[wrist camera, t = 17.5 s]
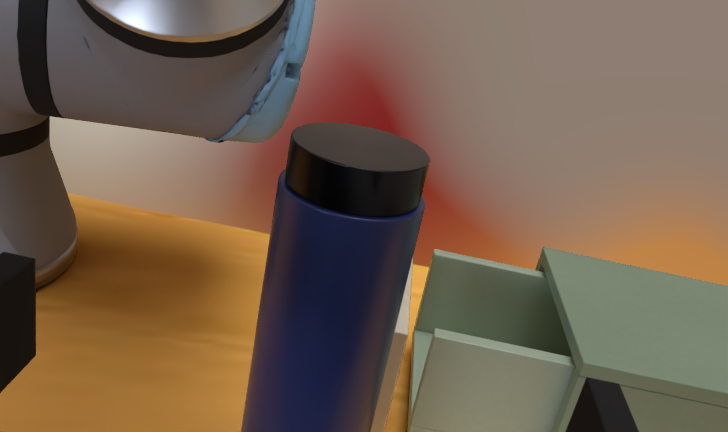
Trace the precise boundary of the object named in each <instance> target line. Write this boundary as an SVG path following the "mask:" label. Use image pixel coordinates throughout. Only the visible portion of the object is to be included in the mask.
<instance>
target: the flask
mask: <svg viewBox="0 0 728 432" xmlns="http://www.w3.org/2000/svg"><path fill="white" fill-rule="evenodd" d="M429 163H430V158H429V156H428V154H427V153H426V152H425V151H424V150H423V149H422V148H421V147H419V146H418V145H416V144H414V143H412V142H411V141H409V140H407V139H404V138H402V137H400V136H397V135H394V134H391V133H388V132H385V131H381V130H377V129H374V128H369V127H364V126H359V125H353V124H344V123H329V122H328V123H312V124H306V125H302V126H299V127H297V128H296V129H294V130H293V132H292V134H291V139H290V146H289V152H288V159H287V165H286V169H285V170H283V172H282V173H281V174H280V176H279V179H278V186H277V193H276V200H275V207H274V213H273V220H272V226H271V233H270V240H269V247H268V253H267V260H266V267H265V274H264V280H263V287H262V294H261V301H260V307H259V314H258V321H257V328H256V334H255V341H254V348H253V355H252V361H251V368H250V375H249V382H248V388H247V395H246V402H245V409H244V415H243V422H242V429H241V432H370V431H371V427H372V423H373V419H374V415H375V410H376V406H377V402H378V398H379V394H380V390H381V386H382V382H383V377H384V373H385V369H386V365H387V361H388V357H389V353H390V349H391V345H392V340H393V336H394V332H395V328H396V324H397V320H398V316H399V312H400V308H401V303H402V299H403V295H404V291H405V287H406V283H407V279H408V275H409V270H410V266H411V262H412V258H413V254H414V250H415V246H416V241H417V237H418V233H419V229H420V225H421V221H422V217H423V213H424V209H425V201H424V198H423V196H422V192H423V188H424V183H425V179H426V175H427V171H428V167H429Z"/></svg>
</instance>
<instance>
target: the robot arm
mask: <svg viewBox="0 0 728 432" xmlns="http://www.w3.org/2000/svg"><path fill="white" fill-rule="evenodd" d="M314 9H315V0H0V393H1V392H2V391H3V389H4V388H5V387H6V386H7V385H8V384H9V383H10V382H11V381H12V380H13V379H14V378H15V377H16V376H17V375H18V374H19V373H20V371H21V370H22V369H23V368H24V367H25V366H26V365H27V364H28V363H29V362H30V361H31V360H32V359H33V358H34V357H35V356H36V291H35V289H37V288H39V287H41V286H43V285H45V284H47V283H49V282H51V281H52V280H54V279H55V278H57V277H58V276H59V275H61V274H62V273H63V272H64V271H65V270H66V269H67V268H68V267H69V266H70V265H71V263H72V262H73V260H74V258H75V256H76V252H77V225H76V218H75V214H74V211H73V209H72V207H71V204H70V201H69V198H68V195H67V192H66V189H65V187H64V184H63V181H62V178H61V175H60V172H59V169H58V167H57V164H56V162H55V158H54V156H53V153H52V150H51V147H50V140H49V117H50V116H53V117H60V118H68V119H75V120H82V121H90V122H96V123H104V124H111V125H118V126H125V127H133V128H139V129H147V130H154V131H161V132H169V133H175V134H182V135H189V136H195V137H202V138H205V139H206V140H208V141H212V142H218V143H220V142H224V141H239V142H252V143H257V142H262V141H265V140H267V139H269V138H271V137H272V136H273V135H275V134H276V133H277V132H278V130H279V129H280V128H281V126H282V125H283V123H284V121H285V120H286V118H287V115H288V113H289V111H290V108H291V106H292V103H293V100H294V98H295V95H296V92H297V88H298V85H299V81H300V69H301V67H302V66H303V63H304V60H305V57H306V54H307V51H308V46H309V41H310V36H311V30H312V24H313V17H314ZM565 432H639V431H638V428H637V426H636V423H635V421H634V419H633V416H632V414H631V411H630V409H629V406H628V404H627V402H626V399H625V397H624V394H623V392H622V389H621V387H620V385H619V384H617V383H613V382H608V381H603V380H599V379H594V378H589V377H586V380H585V383H584V385H583V388H582V390H581V393H580V395H579V398H578V401H577V403H576V406H575V408H574V411H573V413H572V416H571V419H570V421H569V424H568V426H567V429H566V431H565Z"/></svg>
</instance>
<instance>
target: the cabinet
mask: <svg viewBox="0 0 728 432" xmlns="http://www.w3.org/2000/svg"><path fill="white" fill-rule="evenodd" d="M536 271H540V272H545V275H546V278H547V281H548V284H549V287H550V290H551V293H552V296H553V299H554V302H555V305H556V308H557V311H558V314H559V317H560V320H561V323H562V326H563V329H564V332H565V335H566V338H567V341H568V344H569V347H570V350H571V353H572V356H573V359H574V362H575V365H576V368H575V370H574V372H573V375H572V377H571V380H570V383H569V385H568V388H567V391H566V393H565V396H564V399H563V401H562V404H561V407H560V409H559V412H558V415H557V417H556V420H555V423H554V425H553V428H552V431H551V432H565V431H566V429H567V426H568V424H569V421H570V419H571V416H572V413H573V411H574V408H575V406H576V403H577V401H578V398H579V395H580V393H581V390H582V388H583V385H584V383H585V380H586V377H589V378H594V379H599V380H603V381H608V382H613V383H617V384H619V385H620V387H621V389H622V392H623V394H624V397H625V399H626V402H627V404H628V406H629V409H630V411H631V414H632V416H633V419H634V421H635V423H636V426H637V428H638V431H639V432H728V286H725V285H720V284H716V283H710V282H706V281H701V280H696V279H692V278H687V277H682V276H677V275H673V274H668V273H663V272H659V271H654V270H649V269H644V268H640V267H635V266H631V265H626V264H621V263H616V262H612V261H607V260H602V259H597V258H592V257H588V256H583V255H579V254H574V253H569V252H564V251H560V250H555V249H550V248H546V247H543V249H542V252H541V255H540V258H539V261H538V264H537V267H536Z"/></svg>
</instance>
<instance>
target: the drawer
mask: <svg viewBox="0 0 728 432" xmlns="http://www.w3.org/2000/svg"><path fill="white" fill-rule="evenodd" d="M412 267H413V258H412V262H411V266H410V270H409V275H408V279H407V283H406V287H405V291H404V295H403V299H402V303H401V308H400V312H399V316H398V320H397V324H396V328H395V332H394V336H393V340H392V345H391V349H390V353H389V357H388V361H387V365H386V369H385V373H384V377H383V382H382V386H381V390H380V394H379V398H378V402H377V406H376V410H375V415H374V419H373V423H372V427H371V431H370V432H384V429H385V425H386V421H387V417H388V413H389V409H390V405H391V401H392V397H393V393H394V389H395V385H396V381H397V377H398V373H399V370H400V366H401V362H402V358H403V354H404V350H405V346H406V342H407V338H408V330H409V315H410V299H411V283H412ZM575 368H576V365H575V362H574V359H573V356H572V353H571V350H570V347H569V344H568V341H567V338H566V335H565V332H564V329H563V326H562V323H561V320H560V317H559V314H558V311H557V308H556V305H555V302H554V299H553V296H552V293H551V290H550V287H549V284H548V281H547V278H546V275H545V272H540V271H536V270H531V269H526V268H521V267H516V266H512V265H507V264H503V263H498V262H493V261H489V260H484V259H479V258H475V257H470V256H465V255H460V254H456V253H451V252H446V251H441V250H437V249H435V250H434V252H433V256H432V260H431V264H430V268H429V271H428V275H427V279H426V283H425V287H424V291H423V295H422V299H421V303H420V307H419V311H418V314H417V318H416V322H415V326H414V330H413V336H412V355H411V374H410V393H409V413H408V432H551V431H552V428H553V425H554V423H555V420H556V417H557V415H558V412H559V409H560V407H561V404H562V401H563V399H564V396H565V393H566V391H567V388H568V385H569V383H570V380H571V377H572V375H573V372H574V370H575Z"/></svg>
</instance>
